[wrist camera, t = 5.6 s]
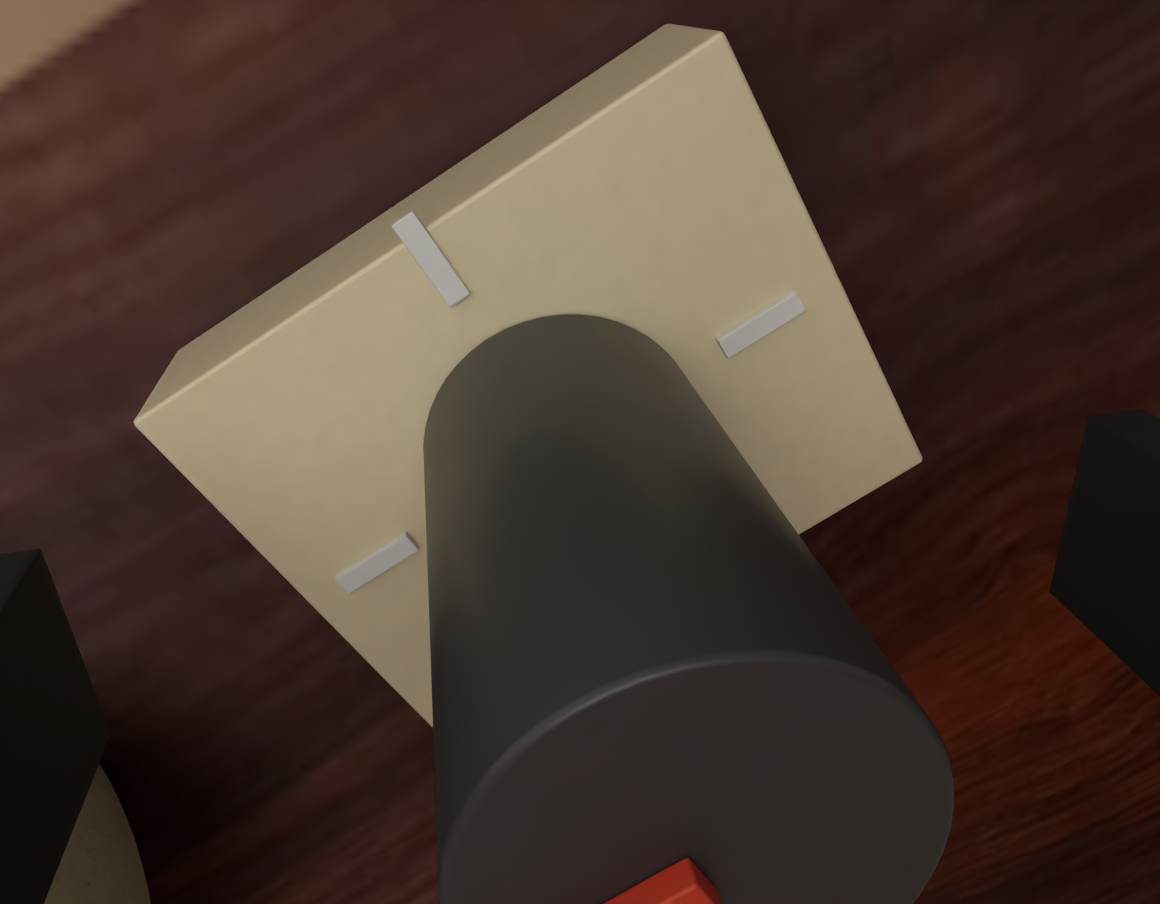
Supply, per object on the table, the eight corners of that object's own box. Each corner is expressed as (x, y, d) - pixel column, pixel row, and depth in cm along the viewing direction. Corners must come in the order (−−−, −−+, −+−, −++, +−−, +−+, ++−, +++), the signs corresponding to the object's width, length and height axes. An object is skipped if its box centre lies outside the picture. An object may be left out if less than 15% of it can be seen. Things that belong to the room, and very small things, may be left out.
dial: (613, 255, 13) (857, 577, 6) (742, 472, 15) (1042, 908, 8) (364, 415, 14) (317, 890, 7) (521, 605, 16) (619, 1131, 9)
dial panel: (659, 4, 15) (717, 8, 12) (857, 405, 19) (935, 478, 16) (163, 338, 16) (110, 412, 13) (449, 652, 20) (456, 760, 17)
